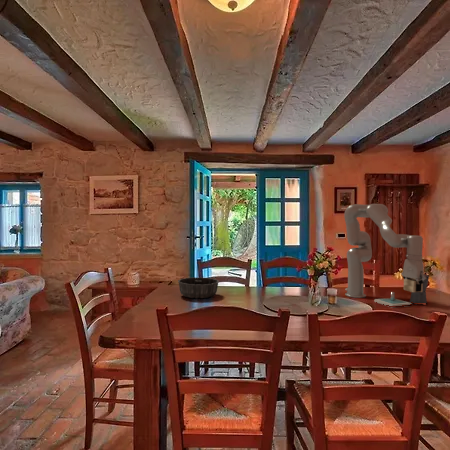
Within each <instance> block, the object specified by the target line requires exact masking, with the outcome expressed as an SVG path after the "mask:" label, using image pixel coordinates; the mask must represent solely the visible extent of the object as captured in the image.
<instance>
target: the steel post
mask: <svg viewBox="0 0 450 450" xmlns="http://www.w3.org/2000/svg"><path fill="white" fill-rule="evenodd" d="M395 294H396V293H395V292H394V291H390V298H391V301H395V299H396V297H395V296H396V295H395Z"/></svg>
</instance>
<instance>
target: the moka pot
mask: <svg viewBox="0 0 450 450" xmlns="http://www.w3.org/2000/svg"><path fill="white" fill-rule="evenodd" d="M424 275H425V277H426V278H427V279H426V280H425V281H424V282H423V292H410V293H411V294H410V298H409V303H411V302H413V303H427V304H428V301H427V293H426V291H427V288H428V284H429V279H430V275H428V274H426V273H424ZM411 279H412V278H411ZM413 303H412V304H413Z"/></svg>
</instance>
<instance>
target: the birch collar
mask: <svg viewBox="0 0 450 450" xmlns="http://www.w3.org/2000/svg"><path fill="white" fill-rule="evenodd" d="M416 284H417V282H416V279H404V278H403V290H404V291H407V292H410V293H412V292H423V284H421V291H416Z"/></svg>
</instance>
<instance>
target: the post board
mask: <svg viewBox="0 0 450 450" xmlns="http://www.w3.org/2000/svg"><path fill="white" fill-rule="evenodd" d="M376 302H377V303H376ZM374 303H376V304H380V305H383V304H384V305H383V306H386V305H389V306H402V305H410V304H412V305H413V303H411V302H410V301H406V300H405V301H404V300H402V299H398V298H395V301H391V297H390V298H389V297H388V298H375V299H374ZM389 306H388V307H389Z"/></svg>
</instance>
